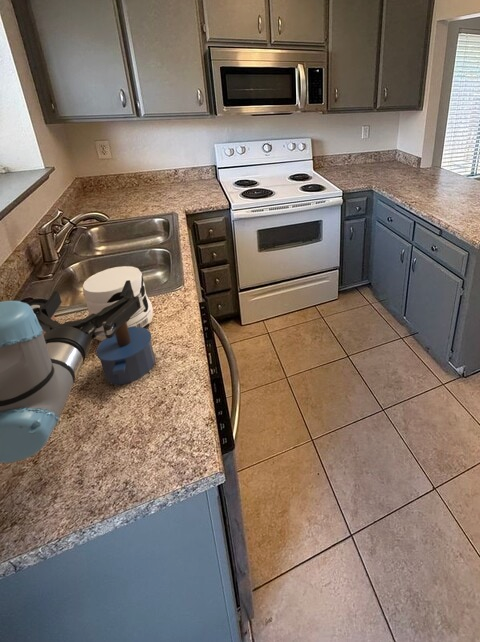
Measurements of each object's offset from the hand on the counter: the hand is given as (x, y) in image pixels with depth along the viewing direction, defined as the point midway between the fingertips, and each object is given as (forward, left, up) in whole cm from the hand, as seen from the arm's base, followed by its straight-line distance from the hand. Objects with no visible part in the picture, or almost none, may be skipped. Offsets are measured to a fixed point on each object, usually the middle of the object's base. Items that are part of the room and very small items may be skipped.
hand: (94, 291), depth 77 cm
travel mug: (-20, +16, -30) cm, 39 cm away
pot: (0, +10, -30) cm, 32 cm away
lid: (0, +10, -22) cm, 24 cm away
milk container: (-5, +29, -30) cm, 42 cm away
